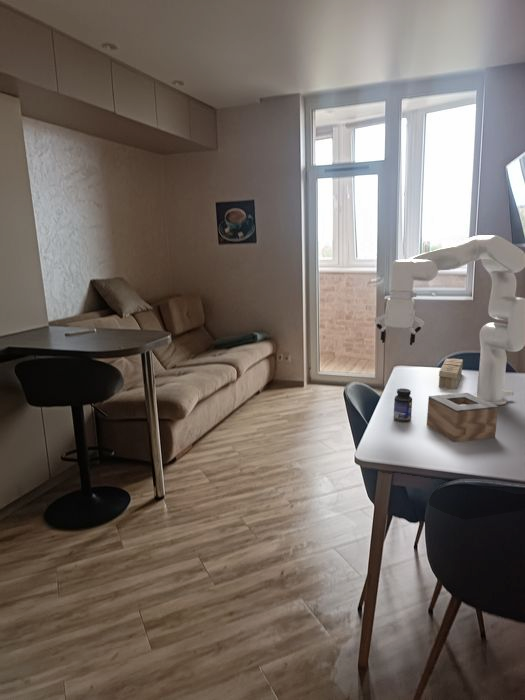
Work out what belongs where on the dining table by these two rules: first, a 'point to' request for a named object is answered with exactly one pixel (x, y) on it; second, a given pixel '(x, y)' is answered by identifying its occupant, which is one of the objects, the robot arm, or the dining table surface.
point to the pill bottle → (403, 405)
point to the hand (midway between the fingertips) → (397, 343)
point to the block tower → (450, 373)
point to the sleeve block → (462, 417)
